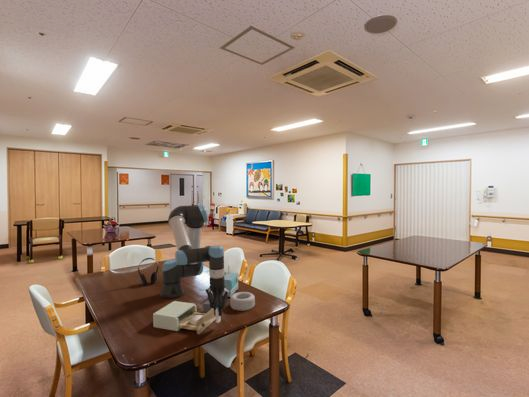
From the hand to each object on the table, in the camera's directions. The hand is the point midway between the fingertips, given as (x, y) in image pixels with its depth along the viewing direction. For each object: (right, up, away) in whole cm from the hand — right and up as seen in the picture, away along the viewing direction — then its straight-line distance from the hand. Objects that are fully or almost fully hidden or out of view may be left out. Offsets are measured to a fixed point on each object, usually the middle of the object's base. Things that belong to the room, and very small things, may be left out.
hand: (218, 321), depth 149 cm
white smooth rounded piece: (-12, -2, +4) cm, 13 cm away
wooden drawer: (-12, -3, +5) cm, 14 cm away
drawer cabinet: (-25, -4, +9) cm, 26 cm away
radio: (0, -2, +49) cm, 49 cm away
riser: (-8, -3, +19) cm, 21 cm away
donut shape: (+10, -3, +27) cm, 29 cm away
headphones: (-64, -2, +71) cm, 96 cm away
